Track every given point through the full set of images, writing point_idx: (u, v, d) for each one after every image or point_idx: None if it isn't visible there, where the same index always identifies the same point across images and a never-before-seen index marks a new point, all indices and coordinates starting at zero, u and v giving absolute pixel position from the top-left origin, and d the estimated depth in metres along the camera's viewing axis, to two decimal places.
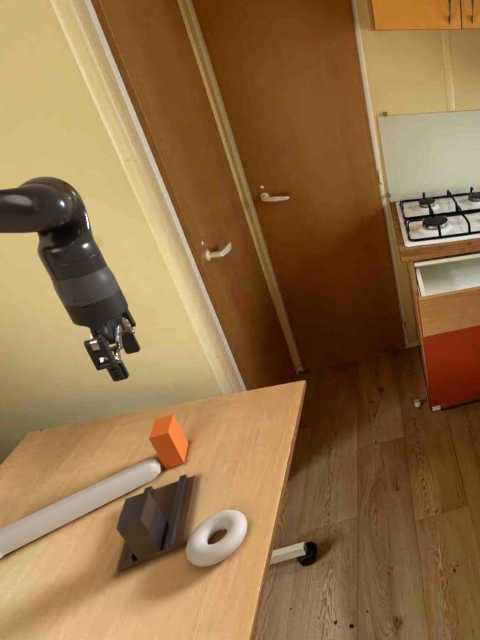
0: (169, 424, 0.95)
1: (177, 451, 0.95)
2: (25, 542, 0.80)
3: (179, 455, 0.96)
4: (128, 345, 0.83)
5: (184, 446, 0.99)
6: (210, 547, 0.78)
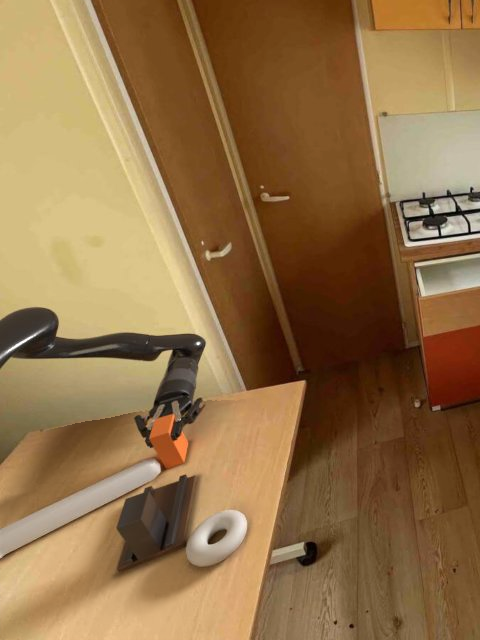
0: (169, 424, 0.95)
1: (177, 451, 0.95)
2: (25, 542, 0.80)
3: (179, 455, 0.96)
4: None
5: (184, 446, 0.99)
6: (210, 547, 0.78)
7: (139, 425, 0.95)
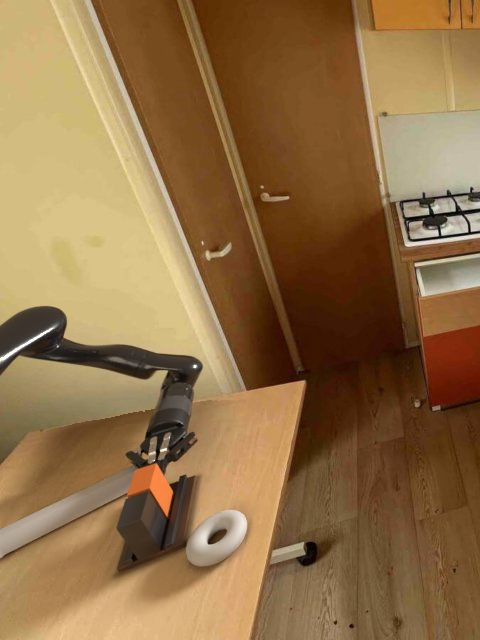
0: (151, 477, 0.82)
1: (160, 507, 0.83)
2: (25, 542, 0.80)
3: (163, 512, 0.83)
4: None
5: (169, 499, 0.86)
6: (210, 547, 0.78)
7: (136, 459, 0.89)
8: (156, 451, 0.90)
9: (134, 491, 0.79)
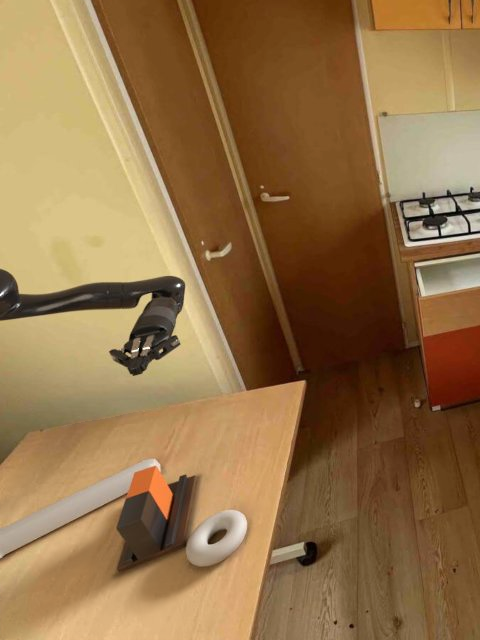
0: (150, 479, 0.81)
1: None
2: (25, 542, 0.80)
3: None
4: None
5: (168, 502, 0.86)
6: (210, 547, 0.78)
7: (119, 355, 0.91)
8: (139, 349, 0.93)
9: (133, 494, 0.79)
